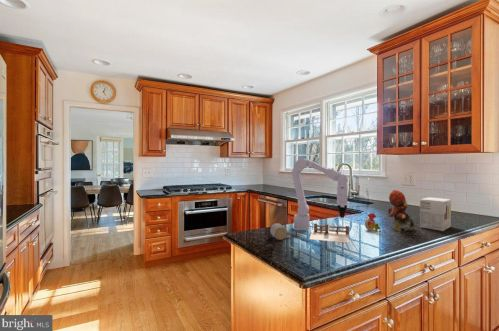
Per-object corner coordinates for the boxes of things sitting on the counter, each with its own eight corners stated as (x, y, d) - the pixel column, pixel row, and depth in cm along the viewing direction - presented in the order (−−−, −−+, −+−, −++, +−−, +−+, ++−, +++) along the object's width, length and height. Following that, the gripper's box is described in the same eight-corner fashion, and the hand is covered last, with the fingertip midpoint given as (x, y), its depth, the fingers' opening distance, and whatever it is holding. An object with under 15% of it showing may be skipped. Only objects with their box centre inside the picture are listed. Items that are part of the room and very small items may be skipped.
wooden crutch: (329, 233, 155) (329, 225, 155) (329, 232, 156) (329, 224, 156) (349, 234, 151) (349, 226, 151) (349, 233, 153) (349, 226, 153)
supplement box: (444, 231, 161) (444, 201, 161) (419, 227, 171) (419, 199, 171) (451, 226, 173) (451, 198, 172) (427, 223, 183) (427, 196, 182)
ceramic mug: (275, 241, 142) (275, 226, 141) (269, 237, 149) (270, 223, 149) (293, 240, 144) (293, 225, 144) (287, 236, 152) (287, 222, 152)
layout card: (309, 240, 143) (309, 238, 143) (312, 230, 164) (312, 229, 164) (349, 243, 137) (349, 242, 137) (347, 232, 158) (347, 231, 158)
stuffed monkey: (409, 231, 154) (398, 189, 159) (384, 232, 169) (375, 193, 174) (425, 227, 161) (414, 186, 165) (399, 228, 176) (390, 190, 180)
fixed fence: (313, 232, 157) (313, 224, 157) (314, 231, 159) (314, 223, 159) (328, 233, 155) (328, 225, 155) (328, 232, 156) (328, 224, 156)
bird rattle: (373, 235, 159) (383, 228, 163) (367, 219, 158) (378, 212, 161) (365, 233, 165) (375, 226, 168) (359, 217, 163) (369, 210, 167)
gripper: (349, 196, 151) (349, 220, 151) (348, 193, 165) (348, 215, 165) (336, 195, 153) (336, 219, 153) (336, 193, 167) (336, 214, 167)
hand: (342, 217), depth 159 cm, fingers closed
